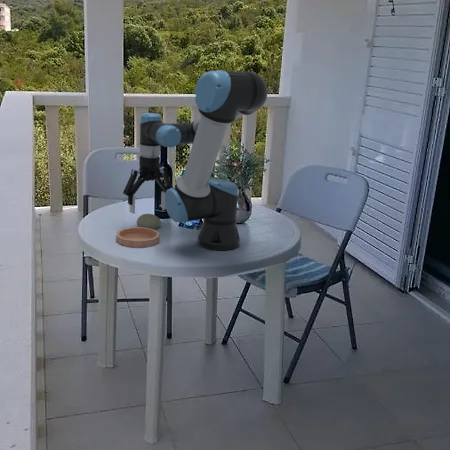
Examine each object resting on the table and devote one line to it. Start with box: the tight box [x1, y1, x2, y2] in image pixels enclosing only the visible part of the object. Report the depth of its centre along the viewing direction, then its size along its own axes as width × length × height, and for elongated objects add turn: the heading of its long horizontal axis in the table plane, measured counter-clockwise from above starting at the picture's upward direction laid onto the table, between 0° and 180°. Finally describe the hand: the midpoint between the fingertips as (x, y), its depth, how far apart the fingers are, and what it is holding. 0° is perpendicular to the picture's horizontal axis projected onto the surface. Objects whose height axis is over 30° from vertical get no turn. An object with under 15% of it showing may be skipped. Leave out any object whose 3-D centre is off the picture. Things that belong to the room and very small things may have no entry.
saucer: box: [115, 226, 160, 249], centre depth 204 cm, size 15×15×2 cm
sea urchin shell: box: [136, 213, 162, 230], centre depth 219 cm, size 9×8×8 cm
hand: (148, 210), depth 218 cm, fingers open, 13 cm apart
